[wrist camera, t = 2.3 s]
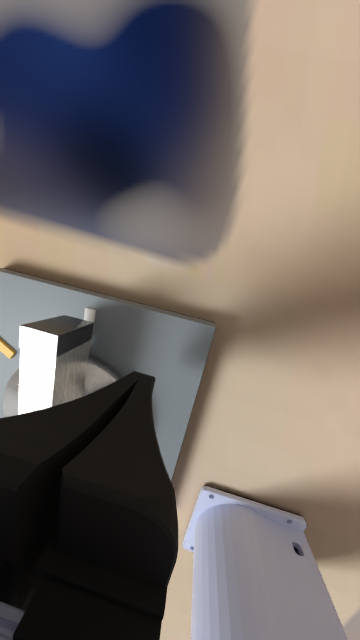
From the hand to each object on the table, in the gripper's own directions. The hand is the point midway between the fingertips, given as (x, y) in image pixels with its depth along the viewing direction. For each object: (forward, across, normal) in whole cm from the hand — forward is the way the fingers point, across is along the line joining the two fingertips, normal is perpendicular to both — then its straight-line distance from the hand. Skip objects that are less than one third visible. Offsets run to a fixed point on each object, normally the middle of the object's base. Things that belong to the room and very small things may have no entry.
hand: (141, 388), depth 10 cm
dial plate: (+5, +6, +6) cm, 9 cm away
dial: (+3, +5, +5) cm, 8 cm away
